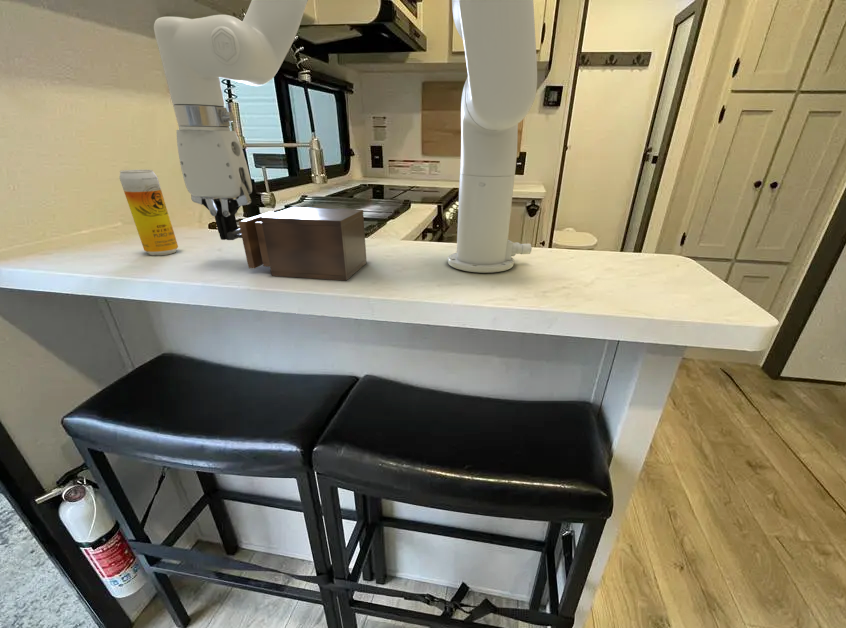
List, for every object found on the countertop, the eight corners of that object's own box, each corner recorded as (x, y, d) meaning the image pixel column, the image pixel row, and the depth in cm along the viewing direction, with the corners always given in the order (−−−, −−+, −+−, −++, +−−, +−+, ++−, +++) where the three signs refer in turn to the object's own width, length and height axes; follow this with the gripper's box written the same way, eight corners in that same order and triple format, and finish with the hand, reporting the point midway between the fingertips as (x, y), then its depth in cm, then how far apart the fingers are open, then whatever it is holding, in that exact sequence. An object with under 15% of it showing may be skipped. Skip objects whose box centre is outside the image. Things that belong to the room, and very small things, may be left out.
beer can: (164, 257, 82) (137, 172, 74) (138, 255, 83) (108, 171, 75) (186, 249, 87) (162, 169, 79) (161, 248, 88) (135, 169, 80)
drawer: (226, 266, 73) (215, 220, 69) (257, 252, 82) (248, 210, 78) (315, 272, 71) (309, 224, 67) (337, 257, 80) (332, 214, 76)
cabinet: (271, 275, 72) (260, 217, 67) (300, 259, 82) (292, 206, 77) (346, 280, 70) (340, 220, 65) (366, 263, 80) (363, 209, 75)
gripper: (258, 121, 69) (277, 236, 78) (177, 120, 71) (205, 232, 80) (232, 120, 62) (256, 245, 72) (143, 118, 64) (179, 240, 74)
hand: (229, 238), depth 76 cm, fingers closed
